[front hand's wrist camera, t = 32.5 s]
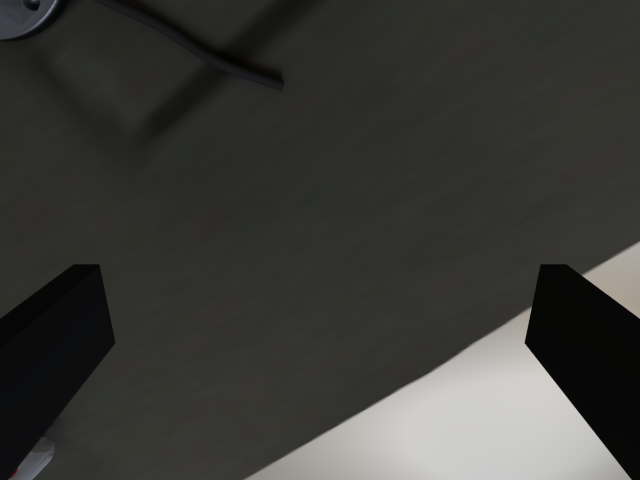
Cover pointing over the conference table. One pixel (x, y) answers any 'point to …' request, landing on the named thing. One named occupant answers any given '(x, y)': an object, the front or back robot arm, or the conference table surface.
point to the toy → (35, 460)
